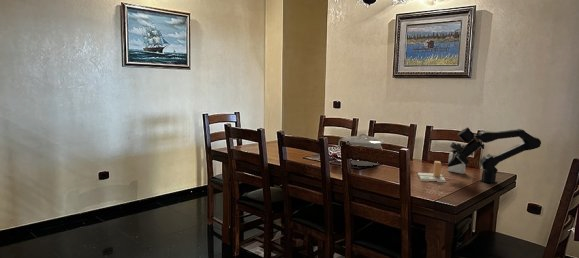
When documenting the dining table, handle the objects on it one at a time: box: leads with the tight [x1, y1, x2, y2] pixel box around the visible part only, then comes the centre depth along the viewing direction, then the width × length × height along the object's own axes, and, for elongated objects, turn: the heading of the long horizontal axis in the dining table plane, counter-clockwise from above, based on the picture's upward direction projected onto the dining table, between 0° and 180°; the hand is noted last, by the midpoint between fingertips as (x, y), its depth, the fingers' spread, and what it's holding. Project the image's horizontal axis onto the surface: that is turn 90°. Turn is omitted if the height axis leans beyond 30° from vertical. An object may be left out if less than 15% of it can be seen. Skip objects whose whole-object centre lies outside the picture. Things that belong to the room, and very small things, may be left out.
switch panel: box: [417, 172, 446, 183], centre depth 230 cm, size 13×14×2 cm
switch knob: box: [432, 160, 442, 177], centre depth 228 cm, size 3×4×9 cm, turn 170°
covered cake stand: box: [338, 133, 386, 167], centre depth 261 cm, size 28×28×21 cm
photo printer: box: [447, 152, 466, 175], centre depth 246 cm, size 10×4×12 cm, turn 39°
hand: (447, 166), depth 227 cm, fingers closed
